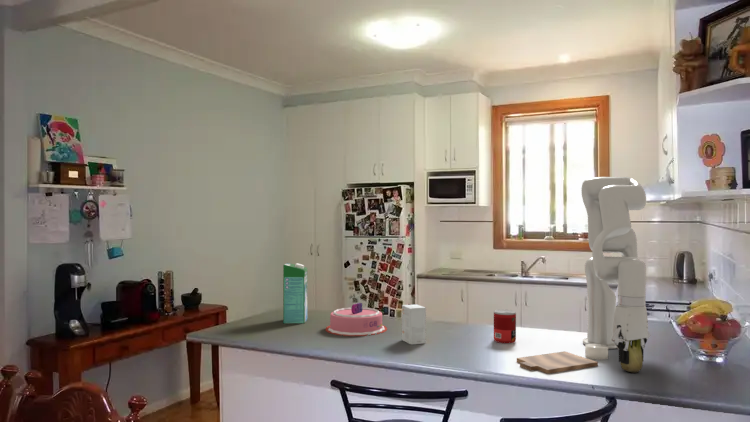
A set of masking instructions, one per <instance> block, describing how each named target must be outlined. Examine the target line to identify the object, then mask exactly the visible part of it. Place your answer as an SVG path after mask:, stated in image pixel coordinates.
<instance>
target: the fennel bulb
mask: <svg viewBox="0 0 750 422" xmlns="http://www.w3.org/2000/svg"><path fill="white" fill-rule="evenodd" d="M624 343H625V342H624V341H623V345H624ZM627 351H629V364H624V363H621V362H619V364H620V367H621V369H622V370H623V371H626V372H629V373H635V374H636V373H639V372H640V371H641V370H642V368H643V362H644V358H643V359H642V352H641V339H638V340H633V341H629V345H628V349H627Z"/></svg>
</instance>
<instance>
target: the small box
mask: <svg viewBox="0 0 750 422" xmlns="http://www.w3.org/2000/svg"><path fill="white" fill-rule="evenodd" d="M401 340H402V341H403V342H405V343H407V344H408V345H420V344H421V345H422V344H426V343H427V307H425V306H423V305H419V304H417V303H416V304H402V305H401Z"/></svg>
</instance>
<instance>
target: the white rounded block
mask: <svg viewBox="0 0 750 422" xmlns="http://www.w3.org/2000/svg"><path fill="white" fill-rule="evenodd" d="M584 349H585V350H584V351H585V353H584V354H585V355H584V357H585V358H587V359H590V360H595V361H596V360H597V361H598V360H600V361H601V360H602V361H605V360H608V359H609V349H608V346H605V345H601V344H586V345H585V344H584Z"/></svg>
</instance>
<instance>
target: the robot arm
mask: <svg viewBox="0 0 750 422" xmlns="http://www.w3.org/2000/svg"><path fill="white" fill-rule="evenodd" d="M581 198H582V201H583V205H584V207H585V210H586V214H587V236H588V240H587V241H588V245H589V249H590V250H591V251H592V252H591V255H592V257H590V258H588V259H587V260H586V261H585V264H584V274H585V278H586V289H587V290H586V292H587V293H586V294H587V299H586V300H587V303H586V304H587V310H586V311H587V324H586V326H587V329H586V331H587V332H586V334H587V337H585V338H584V339H582V344H583V345H584V346H585V345H586V344H601V345H605V346H608V350H610V349H611V350H612V349H618V362H619V363H620V362H621V363H624V364H629V351H627V349H628V345H629V341H633V340H638V339H641V352H642V359H643V360H644V349H645V347H646V343H647V342H648V339H650V338H651V333H650V332H649V323H648V322H649V320H648V319H649V317H648V311H647V307H646V290H647V288H646V284H647V283H646V282H647V281H646V280H647V279H646V277H647V276H646V275H647V273H646V271H647V268H646V263H645V262H644V261H642V260H640V258H639V257H638V239H637V235H636V233H635V230H634V229H633V228H632V222H631V217H630V212H629V211H641V210H643V209H644V208H645V206H646V204H647V195H646V191H645V189H644V187H643V186H642V185H641V184H640V183H639V182H638V180H636V179H635V178H633V177H630V176H596V177H595V176H594V177H590V178H586V179H585V180H584V181H583V182H582V184H581ZM604 253H606V254H611V253H613V254H620V255H621V256H607V255H606V256H604ZM610 284H611V285H612V284H617V296H616V293H615V292H614V290H612V288H611V287H610ZM623 341H624V342H625V343H624V345H623Z"/></svg>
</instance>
